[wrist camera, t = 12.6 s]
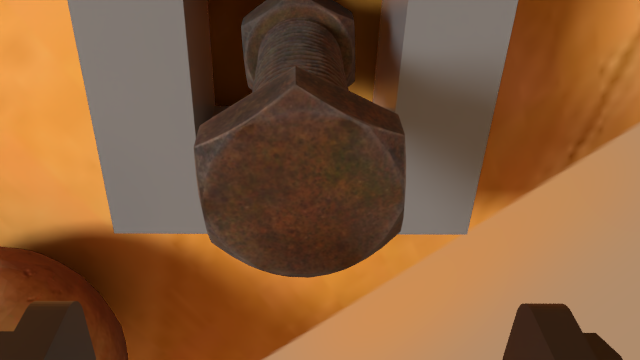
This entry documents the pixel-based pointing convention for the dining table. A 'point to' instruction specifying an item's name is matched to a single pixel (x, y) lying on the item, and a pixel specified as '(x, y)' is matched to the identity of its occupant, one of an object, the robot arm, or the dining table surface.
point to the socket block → (199, 106)
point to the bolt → (301, 150)
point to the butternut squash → (56, 297)
